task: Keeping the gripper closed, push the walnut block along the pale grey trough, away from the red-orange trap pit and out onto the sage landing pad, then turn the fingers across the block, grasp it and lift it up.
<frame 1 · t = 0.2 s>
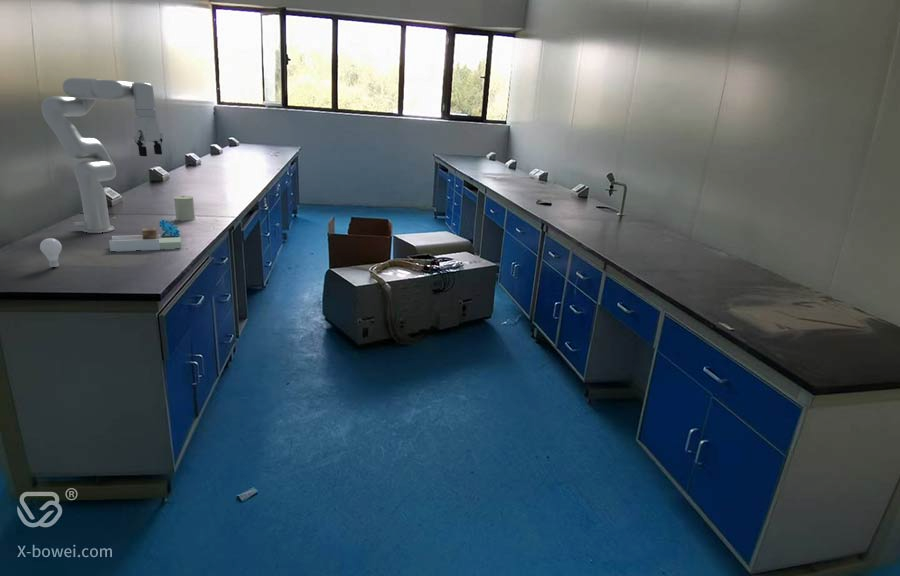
hand: (151, 155, 233), 37 cm above the table, tool pointing down, fingers open, 9 cm apart
can: (185, 219, 283), on the table
lightbulb: (54, 268, 197), on the table
gear: (171, 236, 249), on the table
block: (150, 240, 228), point 3 cm above the table, touching trough
trough: (139, 247, 227), on the table
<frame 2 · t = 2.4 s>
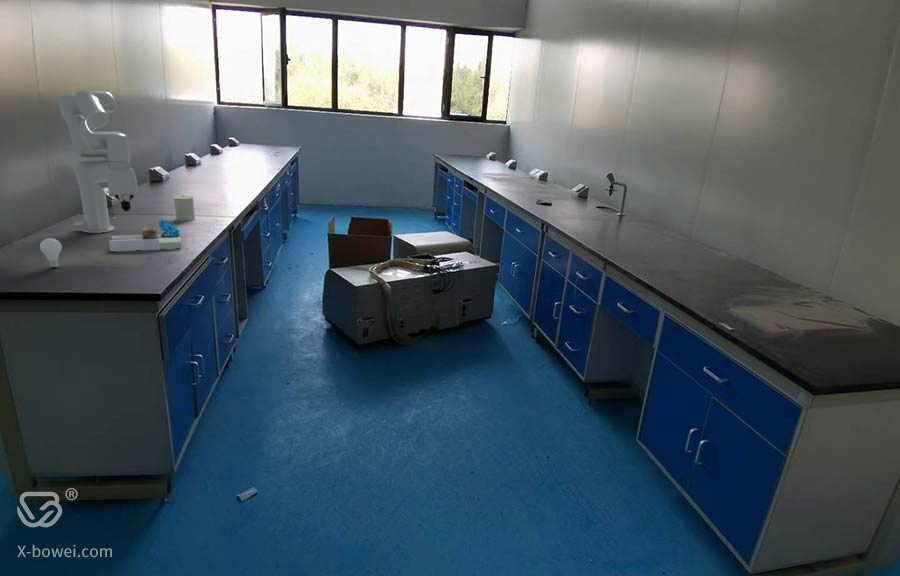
hand: (126, 210, 221), 16 cm above the table, tool pointing down, fingers closed
nothing on the table moved.
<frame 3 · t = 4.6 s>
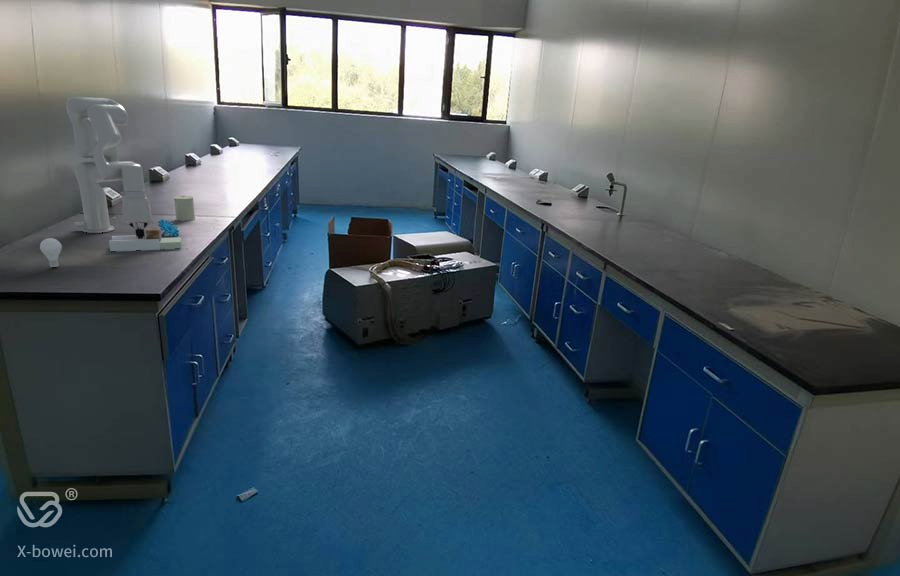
hand: (140, 238, 226), 4 cm above the table, tool pointing down, fingers closed
block: (154, 240, 228), point 3 cm above the table, touching gripper
everything else where it was.
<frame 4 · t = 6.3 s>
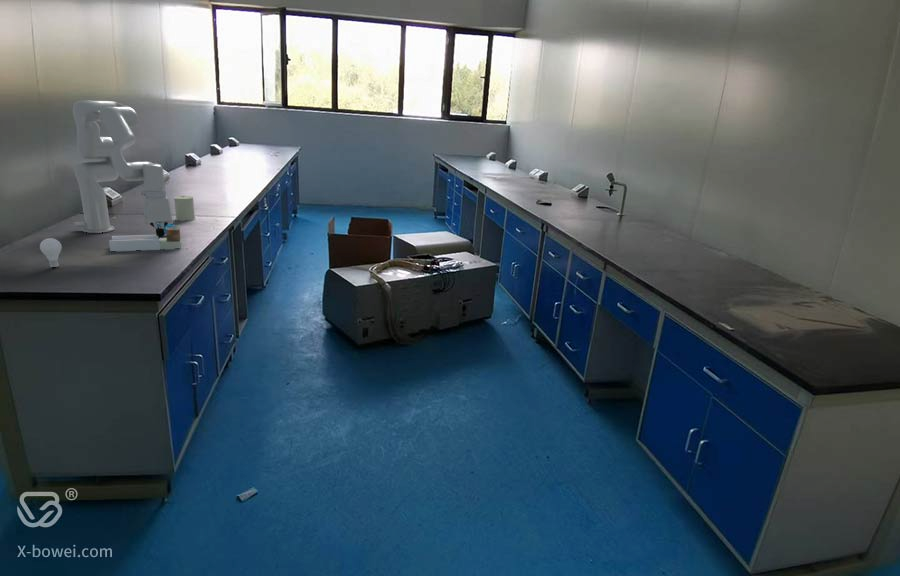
hand: (160, 237, 229), 4 cm above the table, tool pointing down, fingers closed
block: (173, 240, 231), point 3 cm above the table, touching gripper, trough
everything else where it was.
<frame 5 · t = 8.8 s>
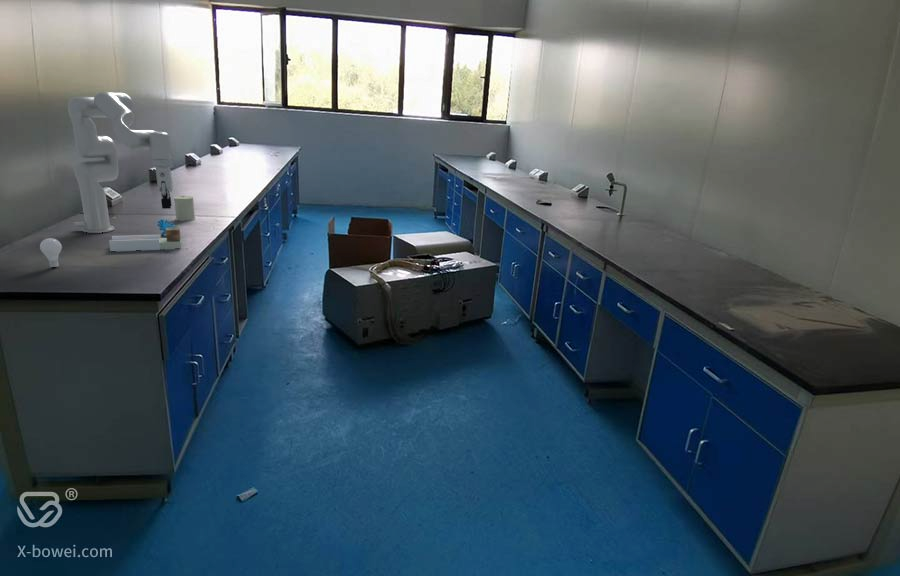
hand: (166, 206, 226), 17 cm above the table, tool pointing down, fingers open, 4 cm apart
block: (173, 240, 231), point 3 cm above the table, touching trough
everything else where it was.
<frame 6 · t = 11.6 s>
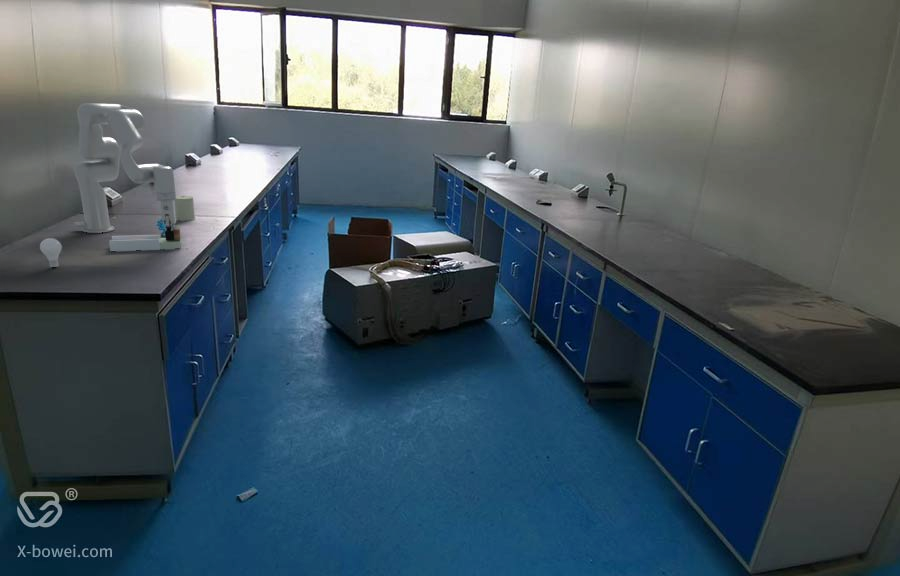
hand: (170, 238, 231), 4 cm above the table, tool pointing down, fingers closed on block, 5 cm apart
block: (174, 239, 231), point 3 cm above the table, touching gripper, trough
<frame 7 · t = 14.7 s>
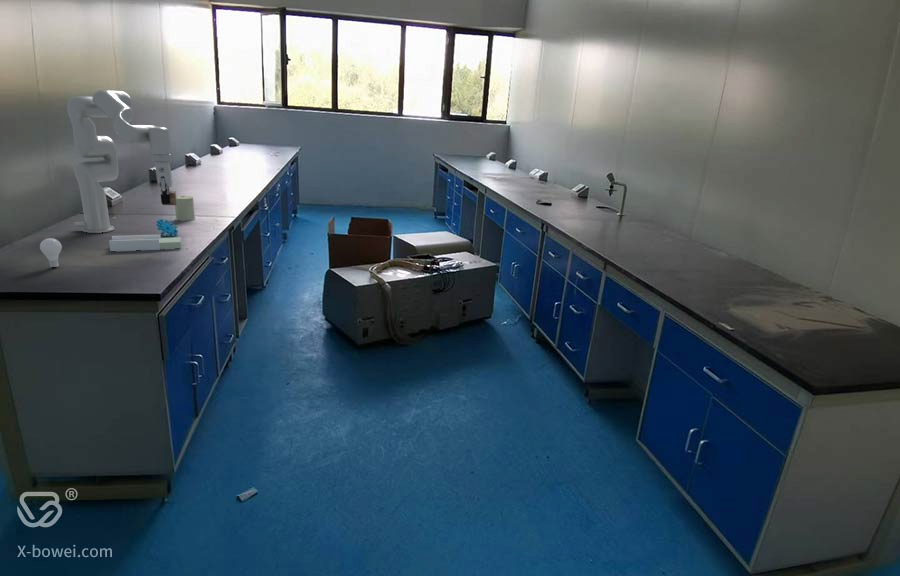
hand: (166, 202, 226), 19 cm above the table, tool pointing down, fingers closed on block, 4 cm apart
block: (169, 204, 227), point 18 cm above the table, touching gripper
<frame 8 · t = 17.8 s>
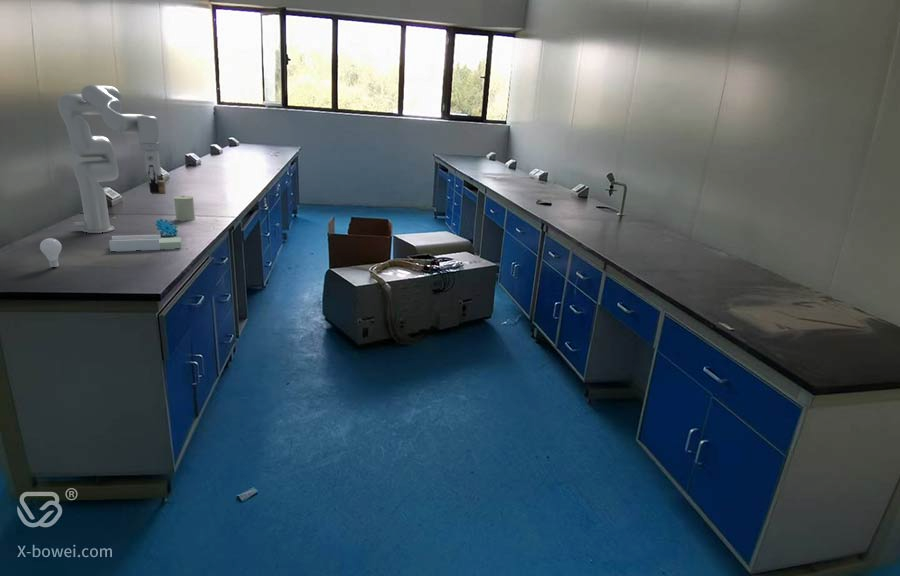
hand: (155, 191, 226), 23 cm above the table, tool pointing down, fingers closed on block, 4 cm apart
block: (158, 193, 227), point 23 cm above the table, touching gripper
at the end: the gripper is holding block; block inside the target area (2.6 cm from its centre), point 22.5 cm above the table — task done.
